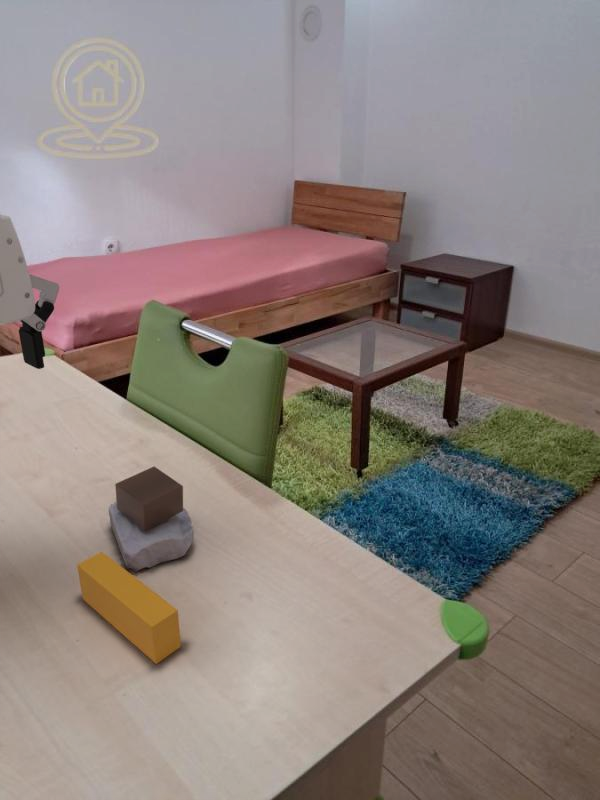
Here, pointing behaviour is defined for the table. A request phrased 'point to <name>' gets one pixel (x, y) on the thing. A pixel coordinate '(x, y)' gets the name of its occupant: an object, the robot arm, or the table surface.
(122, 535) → the stone block
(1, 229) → the robot arm
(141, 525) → the walnut block
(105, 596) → the bar
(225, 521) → the table surface
